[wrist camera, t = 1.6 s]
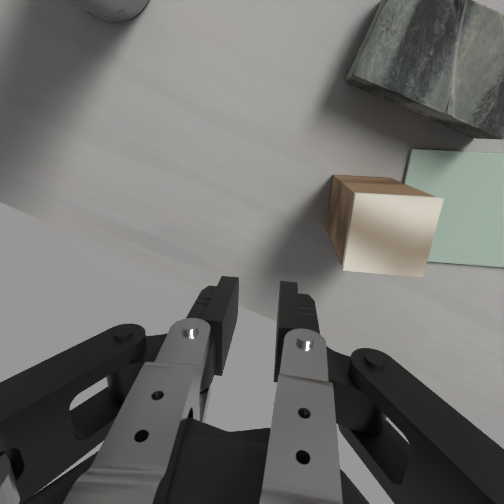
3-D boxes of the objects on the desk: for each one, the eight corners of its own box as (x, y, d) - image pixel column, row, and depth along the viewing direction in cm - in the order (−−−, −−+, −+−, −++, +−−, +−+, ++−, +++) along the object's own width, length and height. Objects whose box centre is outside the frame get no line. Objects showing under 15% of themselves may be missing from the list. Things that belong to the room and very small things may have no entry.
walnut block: (332, 174, 33) (355, 193, 22) (390, 177, 33) (443, 198, 22) (325, 228, 36) (342, 270, 24) (379, 232, 35) (423, 277, 24)
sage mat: (410, 148, 32) (412, 149, 31) (557, 156, 31) (560, 156, 30) (387, 257, 36) (388, 258, 36) (515, 266, 35) (517, 268, 34)
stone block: (390, -24, 27) (412, -59, 23) (534, 43, 28) (586, 23, 23) (342, 82, 31) (353, 72, 26) (472, 140, 31) (507, 141, 26)
